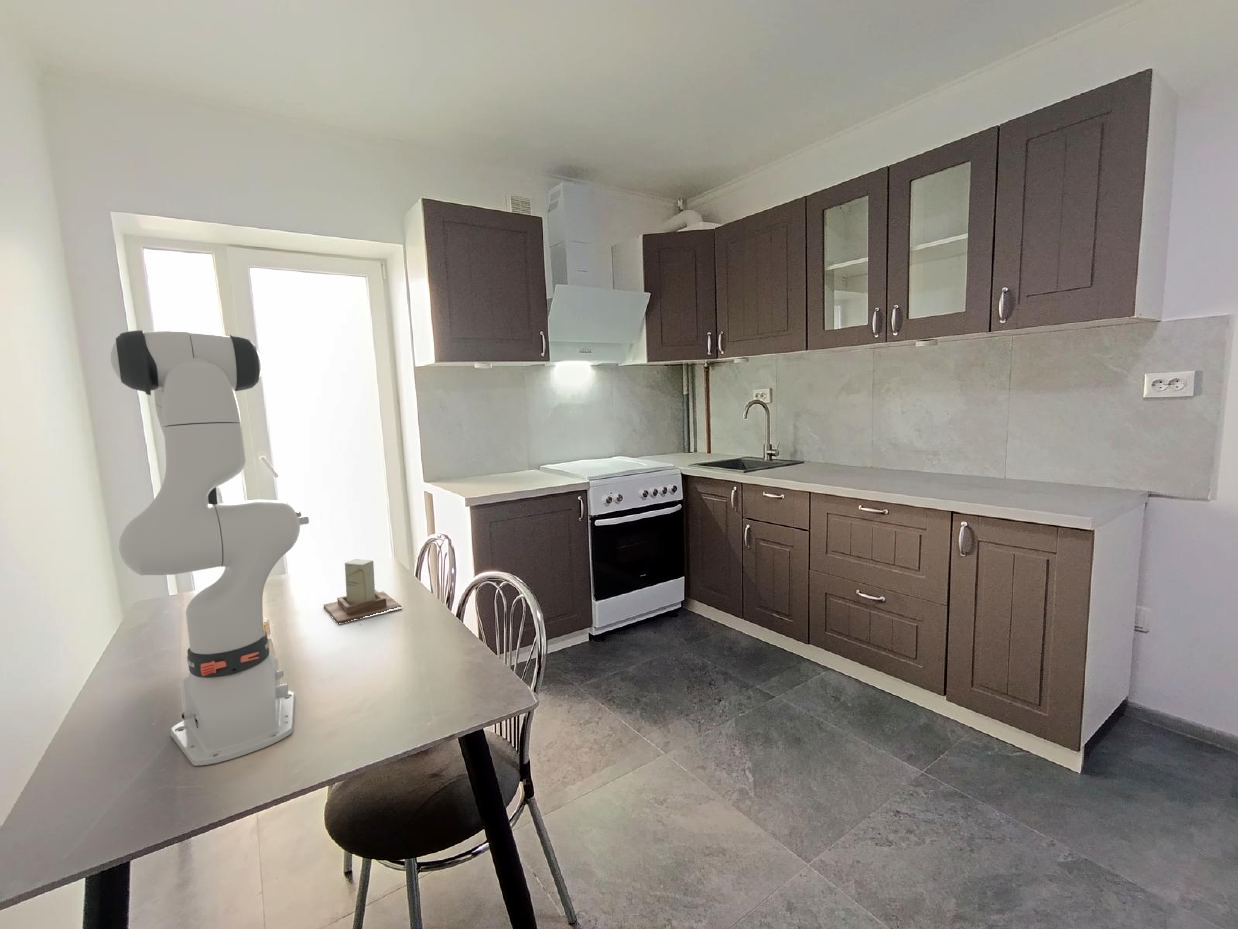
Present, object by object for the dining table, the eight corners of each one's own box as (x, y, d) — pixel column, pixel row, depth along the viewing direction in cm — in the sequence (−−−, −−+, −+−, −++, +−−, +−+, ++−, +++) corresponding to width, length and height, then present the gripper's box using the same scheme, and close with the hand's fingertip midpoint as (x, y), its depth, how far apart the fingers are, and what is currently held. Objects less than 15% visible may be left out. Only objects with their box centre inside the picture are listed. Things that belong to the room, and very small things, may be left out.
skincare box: (346, 606, 156) (343, 563, 155) (358, 601, 160) (355, 558, 159) (365, 608, 154) (362, 564, 153) (377, 602, 158) (373, 560, 157)
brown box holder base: (401, 609, 156) (400, 598, 156) (338, 625, 146) (337, 613, 146) (383, 594, 169) (382, 584, 168) (323, 608, 159) (322, 597, 158)
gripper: (244, 518, 130) (311, 510, 138) (234, 507, 145) (295, 500, 154) (246, 545, 130) (314, 535, 139) (236, 532, 146) (297, 523, 155)
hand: (304, 517), depth 147 cm, fingers open, 8 cm apart
